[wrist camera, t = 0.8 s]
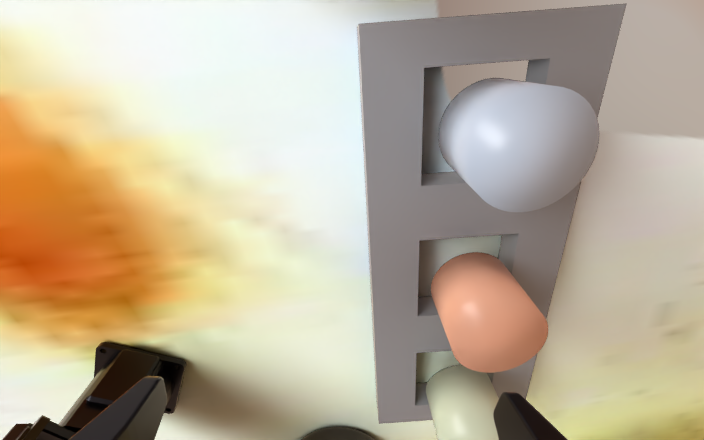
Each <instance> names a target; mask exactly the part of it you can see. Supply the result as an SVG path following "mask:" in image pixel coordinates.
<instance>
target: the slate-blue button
mask: <svg viewBox="0 0 704 440" xmlns="http://www.w3.org/2000/svg"><path fill="white" fill-rule="evenodd" d="M438 141H439V147H440V150H441V153H442V155H443V158H444V159H445V161H446V162H447V163H448V164H449V165H450V167H451V168H452V169H453V170H454V171H455V172H456V173H457V174H458V175H459V176H460V177H461V178H462V179H463V180H464V181H465V182H466V183H467V184H468V185H469V186H470V187H471V188H472V189H473V190H474V191H475V192H476V193H477V194H478V195H479V196H480V197H481V198H482V199H483V200H484V201H485V202H487V203H488V204H489V205H491V206H493V207H495V208H497V209H500V210H503V211H507V212H529V211H534V210H538V209H541V208H544V207H546V206H548V205H550V204H553V203H554V202H556V201H558V200H559V199H561V198H562V197H564V196H565V195H566V194H568V193H569V192H570V191H571V190H572V189H573V188H575V186H576V185H577V184H578V183H579V182H580V181H581V180H582V178H583V177H584V176H585V174H586V173H587V171H588V170H589V168H590V166H591V164H592V162H593V160H594V158H595V155H596V152H597V148H598V143H599V124H598V120H597V117H596V114H595V112H594V110H593V108H592V106H591V105H590V103H589V102H588V101H587V100H586V99H585V98H584V97H583V96H581V95H580V94H579V93H577V92H575V91H573V90H571V89H568V88H564V87H559V86H552V85H545V84H538V83H531V82H523V81H517V80H510V79H503V78H490V79H484V80H481V81H478V82H476V83H474V84H471V85H470V86H468V87H466V88H465V89H464V90H462V91H461V92H460V93H459V94H458V95H457V96H456V97H455V98H454V99H453V100H452V101H451V102H450V104H449V105H448V107H447V108H446V110H445V112H444V114H443V116H442V119H441V122H440V126H439V133H438Z"/></svg>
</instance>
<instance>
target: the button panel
mask: <svg viewBox="0 0 704 440" xmlns="http://www.w3.org/2000/svg"><path fill="white" fill-rule="evenodd" d="M625 8H626V4H614V5H602V6H588V7H575V8H562V9H549V10H535V11H522V12H509V13H496V14H483V15H469V16H456V17H443V18H430V19H416V20H403V21H390V22H377V23H364V24H359V25H358V26H357V36H358V55H359V74H360V93H361V112H362V131H363V150H364V169H365V188H366V207H367V226H368V245H369V264H370V284H371V303H372V322H373V341H374V360H375V379H376V398H377V409H378V419H379V424H380V423H394V422H409V421H423V420H433V419H432V415H431V411H430V407H429V403H428V399H427V395H426V386H427V383H416V353H423V352H438V351H452V349H451V346H450V343H449V341H448V338H447V335H446V333H445V330H444V327H443V325H442V322H441V319H440V317H439V314H438V311H437V309H436V306H435V303H434V301H433V298H432V296H424V297H418V279H419V243H420V241H421V240H435V239H448V238H462V237H476V236H490V235H502V237H501V244H500V250H499V257H498V259H499V260H500V261H501V262H502V263H503V264H504V265H505V267H506V268H507V269H508V270H509V272H510V273H511V274H512V276H513V277H514V278H515V279H516V281H517V282H518V283H519V285H520V286H521V287H522V288H523V290H524V291H525V292H526V294H527V295H528V296H529V297H530V299H531V300H532V301H533V303H534V304H535V305H536V306H537V308H538V309H539V310H540V312H541V313H542V314H543V316H544V317H545V319H546V317H547V313H548V309H549V305H550V302H551V298H552V294H553V290H554V286H555V282H556V278H557V274H558V270H559V266H560V262H561V258H562V255H563V251H564V247H565V243H566V239H567V235H568V231H569V227H570V223H571V219H572V215H573V211H574V208H575V204H576V200H577V196H578V192H579V188H580V184H581V181H580V182H579V183H578V184H577V185H576V186H575V188H573V189H572V190H571V191H570V192H569V193H568V194H566V195H565V196H564V197H562V198H561V199H559V200H558V201H556V202H554V203H553V204H550V205H548V206H546V207H544V208H541V209H538V210H534V211H529V212H507V211H503V210H500V209H497V208H495V207H493V206H491V205H489V204H488V203H487V202H485V201H484V200H483V199H482V198H481V197H480V196H479V195H478V194H477V193H476V192H475V191H474V190H473V189H472V188H471V187H470V186H469V185H468V184H467V183H466V182H465V181H464V180H463V179H462V178H461V177H460V176H459V175H458V174H457V173H456V172H442V173H429V174H421V170H422V133H423V96H424V68H428V67H441V66H454V65H468V64H480V63H494V62H508V61H519V60H520V61H521V60H529V62H528V69H527V75H526V82H531V83H538V84H545V85H552V86H559V87H564V88H568V89H571V90H573V91H575V92H577V93H579V94H580V95H581V96H583V97H584V98H585V99H586V100H587V101H588V102H589V103H590V105H591V106H592V108H593V110H594V112H595V114H596V117H598V113H599V110H600V106H601V102H602V98H603V94H604V90H605V86H606V82H607V78H608V74H609V70H610V66H611V63H612V59H613V55H614V51H615V47H616V43H617V39H618V35H619V31H620V27H621V23H622V19H623V16H624V11H625ZM536 356H537V354H536V355H535V356H534V357H532V358H531V359H530V360H528V361H527V362H525V363H523V364H522V365H520V366H517V367H515V368H512V369H509V370H506V371H501V372H494V373H487V375H488V376H489V378H490V381H491V383H492V385H493V387H494V389H495V392H496V394H497V396H498V398H500V395H501V394H502V393H503V392H516V393H519V394H520V395H521V396H522V397H524V398H525V399H526V396H527V392H528V388H529V384H530V380H531V376H532V372H533V368H534V364H535V360H536Z"/></svg>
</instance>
